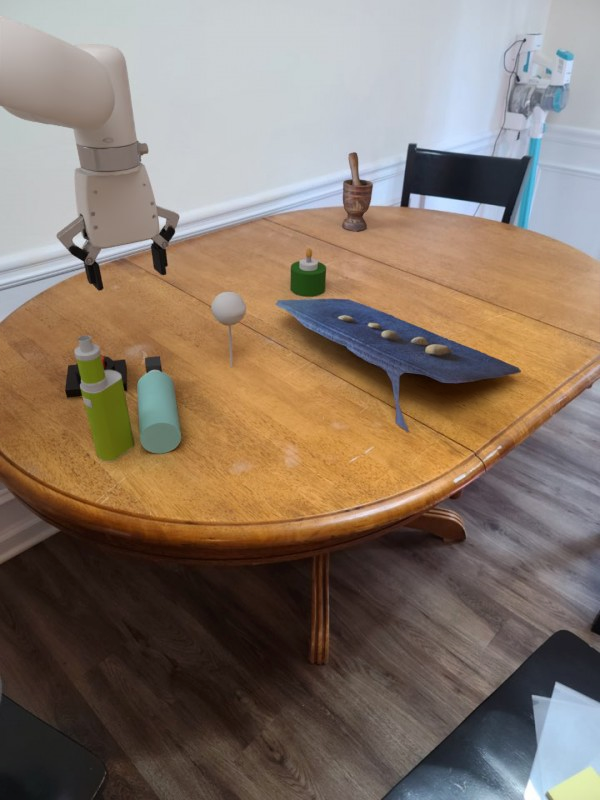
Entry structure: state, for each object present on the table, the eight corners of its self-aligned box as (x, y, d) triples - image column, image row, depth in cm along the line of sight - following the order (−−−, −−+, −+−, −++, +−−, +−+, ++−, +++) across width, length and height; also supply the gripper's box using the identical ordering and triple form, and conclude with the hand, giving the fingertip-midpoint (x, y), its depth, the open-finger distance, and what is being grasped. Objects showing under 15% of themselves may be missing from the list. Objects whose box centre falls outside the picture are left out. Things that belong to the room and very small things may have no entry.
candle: (283, 287, 134) (283, 247, 129) (308, 279, 139) (310, 239, 133) (306, 299, 130) (308, 258, 124) (332, 290, 134) (334, 249, 128)
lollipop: (254, 365, 106) (252, 292, 98) (234, 379, 102) (230, 304, 94) (229, 354, 109) (225, 282, 100) (208, 367, 105) (202, 294, 96)
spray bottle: (142, 456, 85) (138, 383, 101) (183, 450, 86) (173, 379, 102) (137, 425, 81) (133, 354, 97) (179, 419, 83) (169, 350, 98)
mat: (254, 346, 116) (263, 291, 112) (343, 339, 135) (354, 292, 131) (430, 444, 88) (451, 376, 84) (512, 417, 107) (533, 361, 102)
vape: (91, 455, 85) (62, 340, 73) (121, 434, 89) (98, 322, 77) (108, 465, 83) (81, 348, 71) (138, 443, 87) (117, 329, 76)
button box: (66, 398, 96) (62, 381, 94) (69, 373, 103) (65, 356, 100) (127, 390, 99) (124, 374, 96) (126, 366, 105) (123, 350, 103)
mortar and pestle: (328, 222, 174) (332, 153, 162) (350, 218, 178) (356, 150, 166) (351, 233, 166) (357, 162, 154) (374, 229, 170) (381, 158, 158)
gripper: (159, 143, 80) (172, 258, 90) (32, 158, 72) (62, 283, 82) (182, 155, 75) (194, 275, 85) (49, 172, 67) (79, 303, 77)
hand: (129, 279), depth 83 cm, fingers open, 9 cm apart
